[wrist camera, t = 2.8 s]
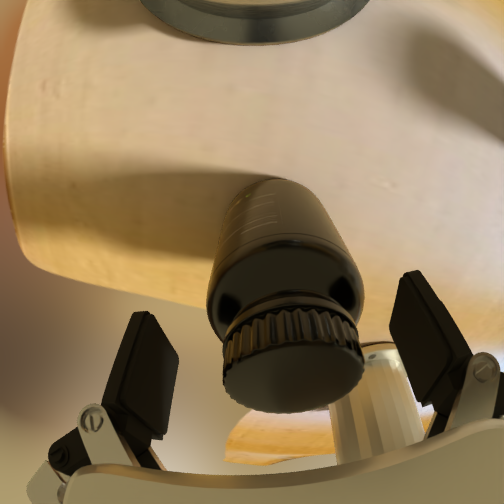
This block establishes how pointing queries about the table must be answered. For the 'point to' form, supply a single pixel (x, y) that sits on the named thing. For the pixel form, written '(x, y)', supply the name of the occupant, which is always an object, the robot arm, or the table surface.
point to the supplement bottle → (285, 302)
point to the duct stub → (254, 18)
